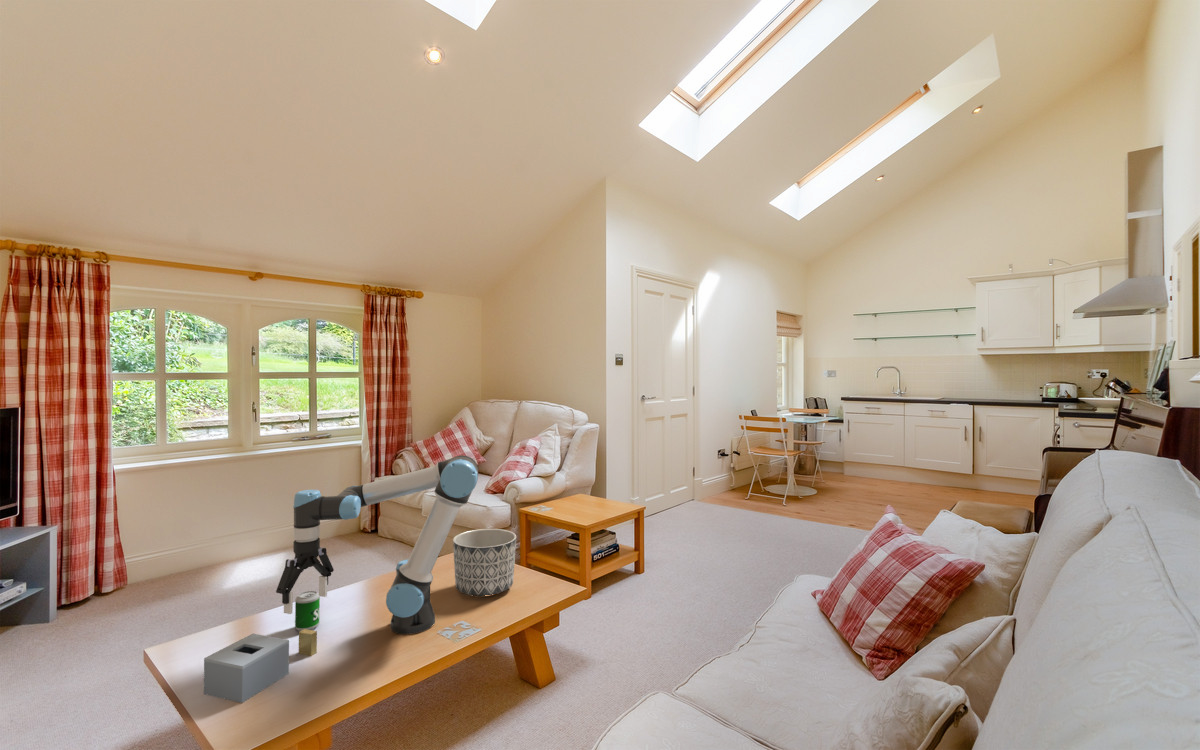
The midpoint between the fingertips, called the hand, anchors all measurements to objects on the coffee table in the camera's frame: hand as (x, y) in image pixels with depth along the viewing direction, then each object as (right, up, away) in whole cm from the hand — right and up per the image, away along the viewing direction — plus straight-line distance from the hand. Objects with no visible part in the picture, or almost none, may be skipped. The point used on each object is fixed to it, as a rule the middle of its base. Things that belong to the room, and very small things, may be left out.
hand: (306, 604), depth 172 cm
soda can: (-8, -15, +16) cm, 23 cm away
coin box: (-7, -15, -18) cm, 25 cm away
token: (+1, -15, -1) cm, 15 cm away
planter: (+47, -16, +51) cm, 71 cm away
